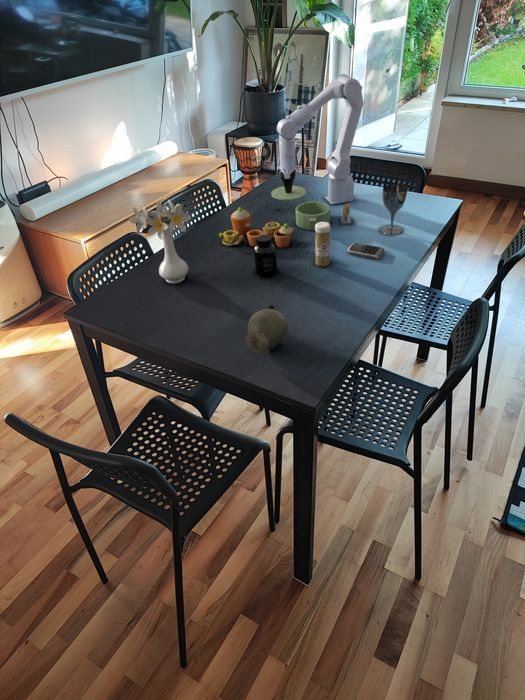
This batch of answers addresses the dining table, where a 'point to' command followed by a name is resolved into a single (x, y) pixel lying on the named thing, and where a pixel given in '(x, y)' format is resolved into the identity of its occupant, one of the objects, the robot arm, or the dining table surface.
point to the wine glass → (393, 204)
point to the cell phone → (366, 250)
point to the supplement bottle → (265, 256)
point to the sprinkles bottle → (322, 243)
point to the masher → (346, 213)
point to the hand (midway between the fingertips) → (288, 190)
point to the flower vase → (165, 237)
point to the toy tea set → (243, 226)
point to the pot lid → (294, 194)
